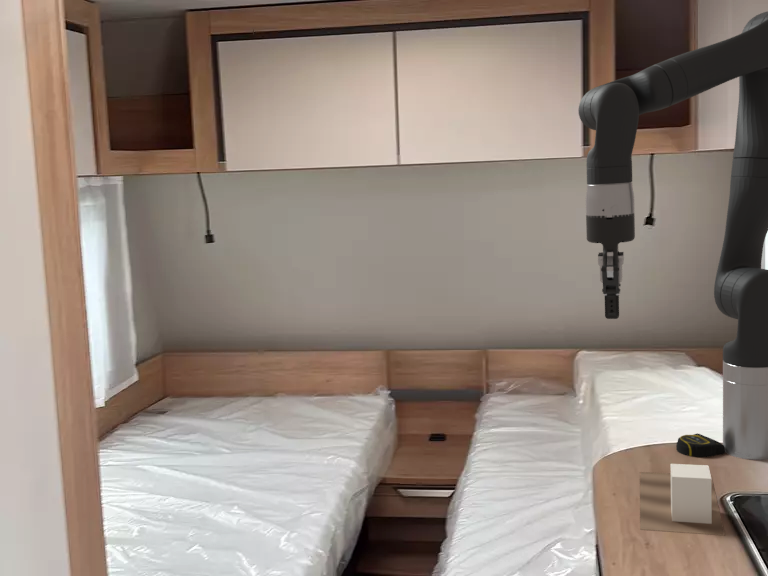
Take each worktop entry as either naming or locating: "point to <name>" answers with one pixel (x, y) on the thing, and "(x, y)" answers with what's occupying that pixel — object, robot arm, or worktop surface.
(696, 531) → the board
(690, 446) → the tape measure
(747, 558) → the worktop surface
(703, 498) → the white rectangular block
